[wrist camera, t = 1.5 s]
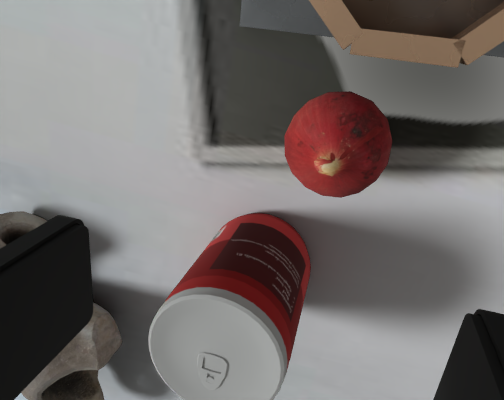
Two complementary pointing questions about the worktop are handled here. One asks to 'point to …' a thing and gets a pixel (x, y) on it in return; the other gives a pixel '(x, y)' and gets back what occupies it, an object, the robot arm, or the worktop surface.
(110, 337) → the grey piece
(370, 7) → the duct stub
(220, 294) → the canned food
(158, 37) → the worktop surface
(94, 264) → the worktop surface
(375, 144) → the red round fruit
